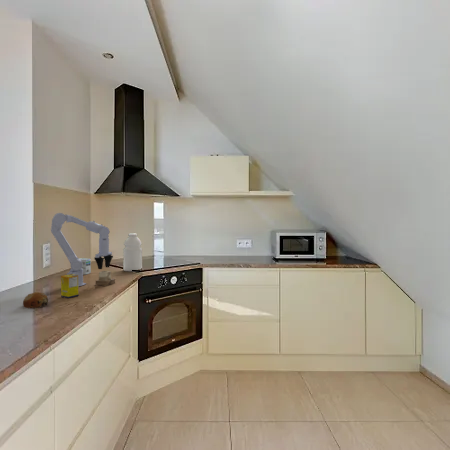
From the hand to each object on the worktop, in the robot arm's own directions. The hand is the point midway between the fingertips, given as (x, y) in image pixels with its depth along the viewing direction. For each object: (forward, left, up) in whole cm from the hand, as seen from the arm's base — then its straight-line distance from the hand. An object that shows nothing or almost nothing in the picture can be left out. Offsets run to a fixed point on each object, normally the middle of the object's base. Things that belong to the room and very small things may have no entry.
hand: (103, 268), depth 199 cm
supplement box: (-33, -2, -10) cm, 35 cm away
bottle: (+50, +7, -10) cm, 51 cm away
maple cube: (-2, -2, -7) cm, 7 cm away
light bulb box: (+26, +34, -10) cm, 44 cm away
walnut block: (-1, -2, -10) cm, 10 cm away
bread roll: (-51, +1, -10) cm, 52 cm away
